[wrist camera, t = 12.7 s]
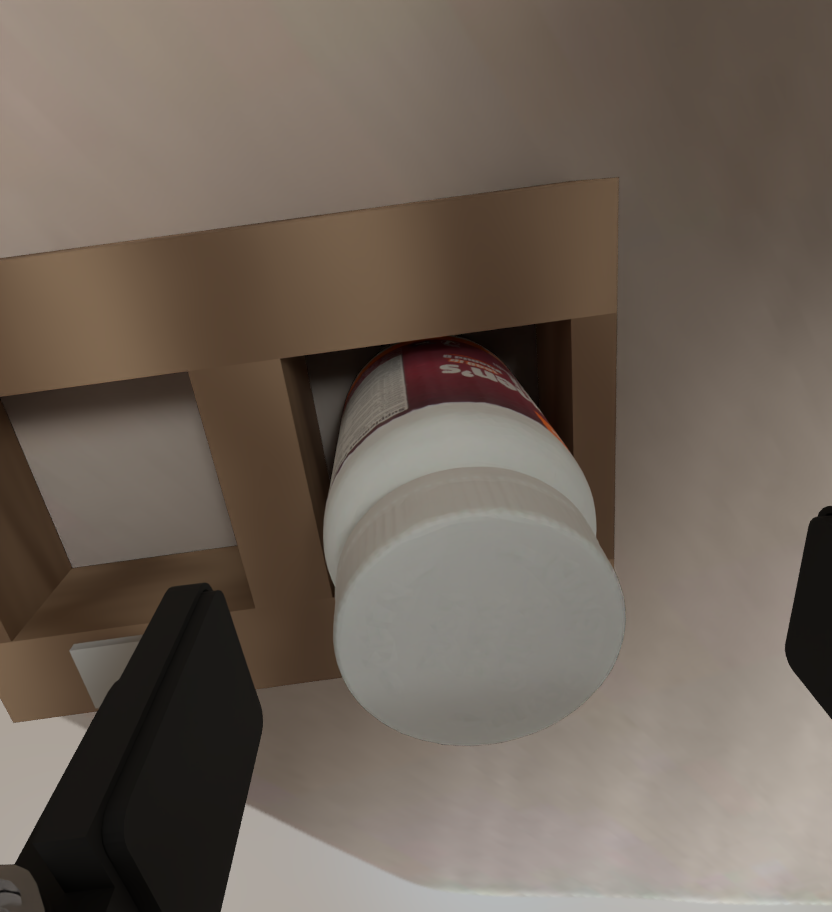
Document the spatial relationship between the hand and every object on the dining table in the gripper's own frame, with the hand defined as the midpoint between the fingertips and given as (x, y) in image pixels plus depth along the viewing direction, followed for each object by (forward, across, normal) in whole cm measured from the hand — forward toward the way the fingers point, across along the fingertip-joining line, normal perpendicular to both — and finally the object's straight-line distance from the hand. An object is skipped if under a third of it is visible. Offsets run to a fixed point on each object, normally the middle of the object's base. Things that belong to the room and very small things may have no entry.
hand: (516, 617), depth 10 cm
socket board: (+11, +6, +1) cm, 13 cm away
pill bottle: (+12, +1, +1) cm, 12 cm away
